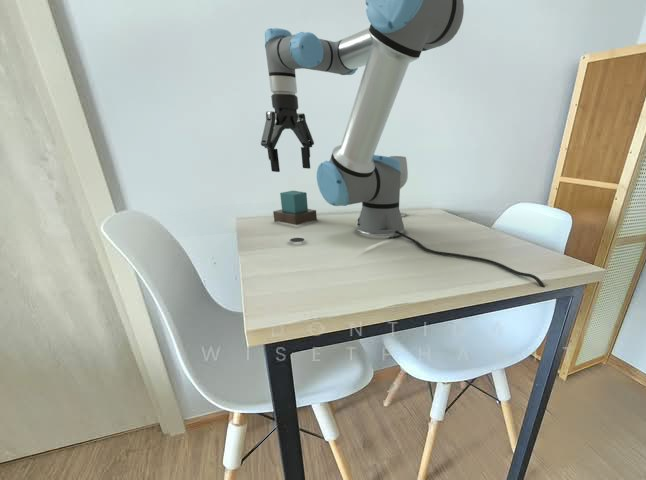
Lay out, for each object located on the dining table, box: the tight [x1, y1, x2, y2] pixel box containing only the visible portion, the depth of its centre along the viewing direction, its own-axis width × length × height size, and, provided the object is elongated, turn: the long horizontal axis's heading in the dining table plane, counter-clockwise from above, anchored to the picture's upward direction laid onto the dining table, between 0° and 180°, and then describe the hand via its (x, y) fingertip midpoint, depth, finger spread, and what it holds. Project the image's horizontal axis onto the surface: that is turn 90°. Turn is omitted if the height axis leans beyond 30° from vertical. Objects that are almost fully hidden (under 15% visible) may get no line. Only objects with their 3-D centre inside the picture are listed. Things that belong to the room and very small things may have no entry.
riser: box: [272, 208, 318, 226], centre depth 122 cm, size 10×10×4 cm
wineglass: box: [389, 155, 409, 218], centre depth 133 cm, size 8×8×21 cm
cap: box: [289, 237, 305, 243], centre depth 102 cm, size 4×4×1 cm
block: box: [279, 190, 309, 214], centre depth 120 cm, size 6×6×6 cm
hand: (291, 170), depth 115 cm, fingers open, 13 cm apart
